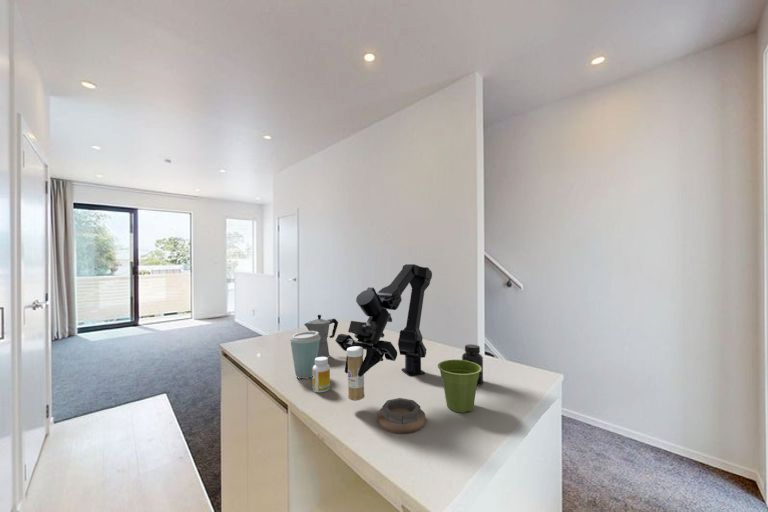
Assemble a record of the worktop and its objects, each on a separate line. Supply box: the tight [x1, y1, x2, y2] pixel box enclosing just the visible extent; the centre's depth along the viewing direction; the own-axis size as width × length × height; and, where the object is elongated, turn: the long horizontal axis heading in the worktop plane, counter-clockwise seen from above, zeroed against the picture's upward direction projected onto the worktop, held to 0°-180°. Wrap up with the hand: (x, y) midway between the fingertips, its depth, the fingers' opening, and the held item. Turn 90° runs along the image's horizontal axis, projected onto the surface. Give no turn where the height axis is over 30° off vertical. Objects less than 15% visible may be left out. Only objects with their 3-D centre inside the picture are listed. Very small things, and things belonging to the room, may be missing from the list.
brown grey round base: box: [377, 397, 426, 435], centre depth 76 cm, size 12×12×4 cm
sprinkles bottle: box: [346, 346, 366, 402], centre depth 82 cm, size 5×5×14 cm
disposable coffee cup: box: [289, 330, 321, 379], centre depth 107 cm, size 11×11×15 cm
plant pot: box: [437, 359, 482, 414], centre depth 84 cm, size 12×12×11 cm
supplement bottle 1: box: [311, 357, 331, 393], centre depth 96 cm, size 5×5×10 cm
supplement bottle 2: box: [461, 344, 484, 386], centre depth 101 cm, size 7×7×12 cm
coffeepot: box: [303, 314, 339, 357], centre depth 129 cm, size 15×9×18 cm, turn 125°
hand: (352, 374), depth 81 cm, fingers closed on sprinkles bottle, 4 cm apart
